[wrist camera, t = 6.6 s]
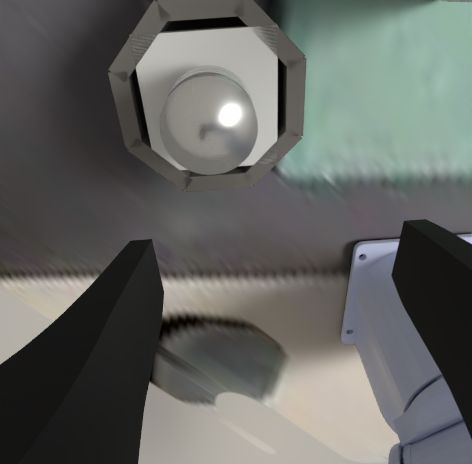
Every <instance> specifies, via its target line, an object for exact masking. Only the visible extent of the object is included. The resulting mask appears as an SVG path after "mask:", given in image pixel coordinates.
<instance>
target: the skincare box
mask: <svg viewBox="0 0 472 464" xmlns="http://www.w3.org/2000/svg"><path fill="white" fill-rule="evenodd" d="M442 1H447V2H472V0H442Z"/></svg>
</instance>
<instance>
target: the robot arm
mask: <svg viewBox="0 0 472 464" xmlns="http://www.w3.org/2000/svg"><path fill="white" fill-rule="evenodd" d="M361 254H364V255H363V256H361V257H359V256H360V255H361ZM163 299H164V290H163V286H162V281H161V277H160V273H159V268H158V264H157V260H156V255H155V251H154V247H153V242H152V239H148V240H134V241H130V242H129V243H128V244H127V245H126V246H125V247H124V249H123V250H122V251H121V252H120V253H119V254H118V255H117V257H116V258H115V259H114V260H113V261H112V262H111V263H110V265H109V266H108V267H107V268H106V269H105V270H104V271H103V273H102V274H101V275H100V276H99V277H98V278H97V279H96V280H95V281H94V282H93V283H92V285H91V286H90V287H89V288H88V289H87V290H86V291H85V292H84V293H83V294H82V295H81V296H80V297H79V298H78V299H77V300H76V301H75V302H74V303H73V304H72V305H71V306H70V307H69V308H68V309H67V310H66V311H65V312H64V313H63V314H62V315H61V316H60V317H59V318H58V319H56V320H55V321H54V322H53V323H52V324H51V325H50V326H49V327H48V328H46V329H45V330H44V331H43V332H42V333H40V334H39V335H38V336H37V337H36V338H34V339H33V340H32V341H31V342H30V343H28V344H27V345H26V346H25V347H23V348H22V349H21V350H19V351H18V352H17V353H15V354H14V355H13V356H11V357H10V358H9V359H7V360H6V361H5V362H3V363H2V364H0V464H138V459H139V448H140V439H141V430H142V420H143V412H144V406H145V400H146V395H147V390H148V385H149V380H150V376H151V371H152V366H153V362H154V357H155V352H156V348H157V343H158V338H159V333H160V328H161V323H162V312H163ZM341 341H342V343H343V344H345V345H353V344H356V347H357V350H358V353H359V355H360V358H361V361H362V363H363V366H364V369H365V371H366V374H367V377H368V379H369V382H370V385H371V387H372V390H373V393H374V395H375V398H376V401H377V404H378V406H379V409H380V411H381V413H382V415H383V418H384V419H385V421H386V422H387V424H388V425H389V426H390V427H391V429H392V430H393V431H394V432H395V433H396V434H397V435H398V437H399V440H400V443H398V444H396V445H394V446H393V447H392V448H391V450H390V453H389V463H388V464H472V234H463V235H455V234H453V233H451V232H449V231H448V230H446V229H444V228H442V227H440V226H438V225H436V224H434V223H432V222H430V221H428V220H426V219H424V220H410V221H404V223H403V228H402V232H401V236H400V239H389V240H375V241H362V242H359V243H357V244H356V245H355V247H354V251H353V257H352V264H351V271H350V278H349V284H348V291H347V298H346V305H345V311H344V318H343V325H342V332H341Z"/></svg>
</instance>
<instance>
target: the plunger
mask: <svg viewBox="0 0 472 464" xmlns="http://www.w3.org/2000/svg"><path fill="white" fill-rule="evenodd" d="M159 129H160V135H161V139H162V142H163V145H164V147H165V149H166V150H167V152H168V153H169V155H170V156H171V157H172V158H173V159H174V160H175V161H176V162H177V163H178V164H179V165H181V166H182V167H184V168H186V169H188V170H190V171H192V172H195V173H199V174H205V175H215V174H221V173H225V172H228V171H230V170H232V169H234V168H236V167H237V166H239V165H240V164H241V163H242V162H244V161H245V160H246V158H247V157H248V156H249V155H250V153H251V151H252V150H253V148H254V145H255V142H256V139H257V134H258V122H257V116H256V112H255V109H254V105H253V101H252V98H251V95H250V92H249V90H248V88H247V87H246V85H245V84H244V82H243V81H242V80H241V79H240V78H239V77H238V76H237V75H235V74H234V73H232V72H231V71H229V70H227V69H225V68H222V67H218V66H199V67H196V68H193V69H191V70H189V71H187V72H186V73H184V74H183V75H182V76H180V77H179V78H178V79H177V81H176V82H175V83H174V85H173V86H172V88H171V90H170V92H169V95H168V97H167V99H166V101H165V103H164V106H163V108H162V111H161V114H160V120H159Z"/></svg>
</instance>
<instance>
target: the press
mask: <svg viewBox="0 0 472 464" xmlns="http://www.w3.org/2000/svg"><path fill="white" fill-rule="evenodd" d="M199 66H218V67H222V68H225V69H227V70H229V71H231V72H232V73H234V74H235V75H237V76H238V77H239V78H240V79H241V80H242V81H243V82H244V84H245V85H246V87H247V88H248V90H249V92H250V95H251V98H252V101H253V105H254V109H255V112H256V116H257V122H258V134H257V139H256V142H255V145H254V148H253V150H252V151H251V153H250V155H249V156H248V157H247V158H246V160H245V161H244V162H242V163H241V164H240V165H239V166H237V167H236V168H234V169H232V170H230V171H228V172H225V173H221V174H215V175H205V174H199V173H195V172H192V171H190V170H188V169H186V168H184V167H182V166H181V165H179V164H178V163H177V162H176V161H175V160H174V159H173V158H172V157H171V156H170V155H169V153H168V152H167V150H166V149H165V147H164V145H163V142H162V139H161V135H160V129H159V120H160V114H161V111H162V108H163V106H164V103H165V101H166V99H167V97H168V95H169V92H170V90H171V88H172V86H173V85H174V83H175V82H176V81H177V79H178V78H179V77H180V76H182V75H183V74H184V73H186V72H187V71H189V70H191V69H193V68H196V67H199ZM108 70H110V71H109V72H108V75H109V80H110V84H111V88H112V92H113V97H114V101H115V105H116V109H117V114H118V118H119V122H120V126H121V131H122V135H123V139H124V143H125V148H128V150H127V151H129V152H130V153H132V154H133V155H134V156H136V157H137V158H139V159H140V160H141V161H143V162H144V163H145V164H147V165H148V166H150V167H151V168H152V169H154V170H155V171H156V172H158V173H159V174H161V175H162V176H163V177H165V178H166V179H168V180H169V181H170V182H172V183H173V184H175V185H176V186H177V187H179V188H180V189H181V190H183V191H184V190H185V189H186V192H191V191H205V190H220V189H235V188H249V187H251V185H253V186H254V185H255V184H256V183H257V182H258V181H259V180H260V179H261V178H262V177H263V176H264V175H265V174H266V173H267V172H268V171H269V170H270V169H271V168H272V167H273V166H274V165H276V164H277V163H278V162H279V161H280V160H281V159H282V158H283V157H284V156H285V155H286V154H287V153H288V152H289V151H290V150H291V149H292V148H293V147H294V146H295V145H296V144H297V143H298V142H299V141H300V140H301V139H302V138H301V136H303V123H304V100H305V77H306V58H305V55H304V54H303V53H302V52H301V51H300V50H299V49H298V47H297V46H296V45H295V44H294V43H293V42H292V41H291V40H290V39H289V38H288V37H287V36H286V35H285V34H284V32H283V31H282V30H281V29H280V28H279V27H278V25H277V24H275V23H274V22H273V21H272V20H271V18H270V17H269V16H268V15H267V14H266V13H265V12H264V11H263V10H262V9H261V8H260V7H259V6H258V5H257V3H256V2H255V1H254V0H153V2H152V3H151V5H150V6H149V8H148V10H147V11H146V13H145V14H144V16H143V17H142V19H141V20H140V22H139V23H138V25H137V26H136V28H135V29H134V31H133V33H132V34H131V35H130V37H129V39H128V40H127V42H126V43H125V45H124V46H123V48H122V49H121V51H120V52H119V54H118V56H117V57H116V59H115V60H114V62H113V63H112V65H111V66H110V68H109V69H108Z"/></svg>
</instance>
